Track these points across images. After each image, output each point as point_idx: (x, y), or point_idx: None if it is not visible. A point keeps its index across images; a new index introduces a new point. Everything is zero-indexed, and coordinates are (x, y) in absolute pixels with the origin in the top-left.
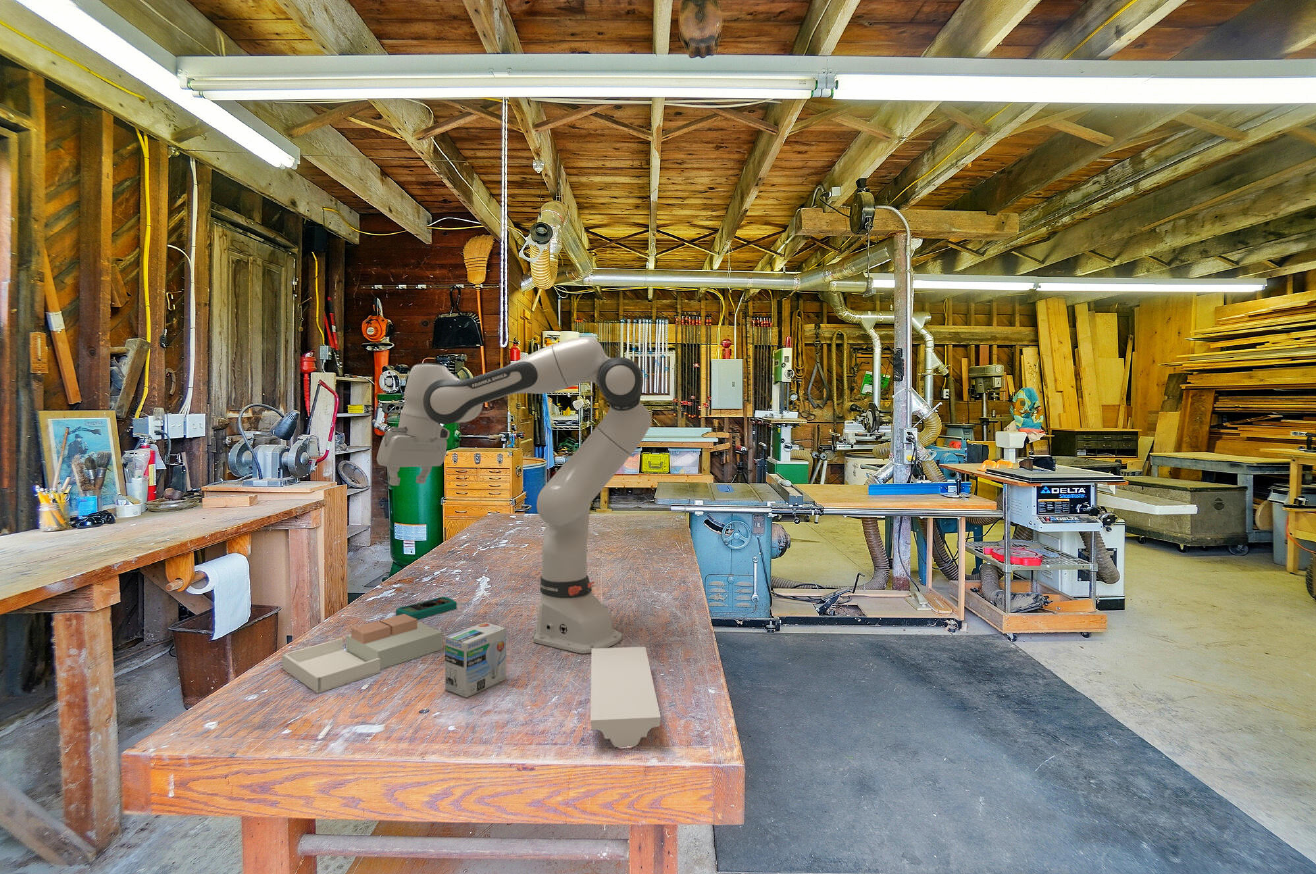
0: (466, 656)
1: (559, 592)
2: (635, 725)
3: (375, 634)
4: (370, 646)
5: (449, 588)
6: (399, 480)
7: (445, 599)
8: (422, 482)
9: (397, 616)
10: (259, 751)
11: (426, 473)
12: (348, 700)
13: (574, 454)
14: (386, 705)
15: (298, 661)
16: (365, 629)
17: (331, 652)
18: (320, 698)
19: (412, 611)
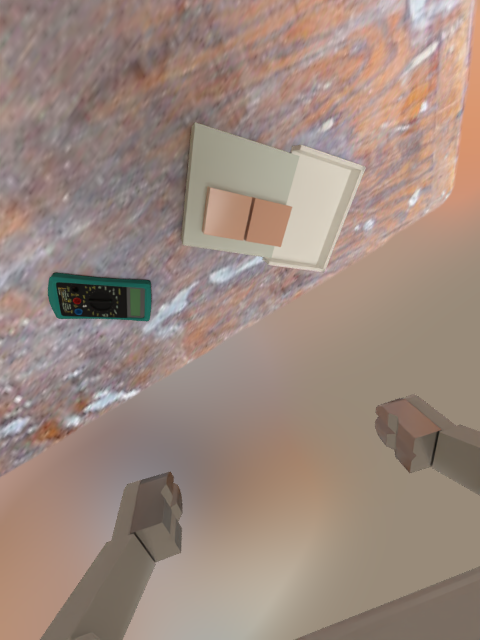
0: None
1: None
2: None
3: (274, 202)
4: (289, 187)
5: (4, 369)
6: (406, 424)
7: (60, 303)
8: (158, 479)
9: (218, 232)
10: (456, 91)
11: (107, 584)
12: (361, 107)
13: None
14: (364, 28)
15: (306, 263)
16: (278, 222)
17: (276, 259)
18: (361, 150)
19: (135, 297)
